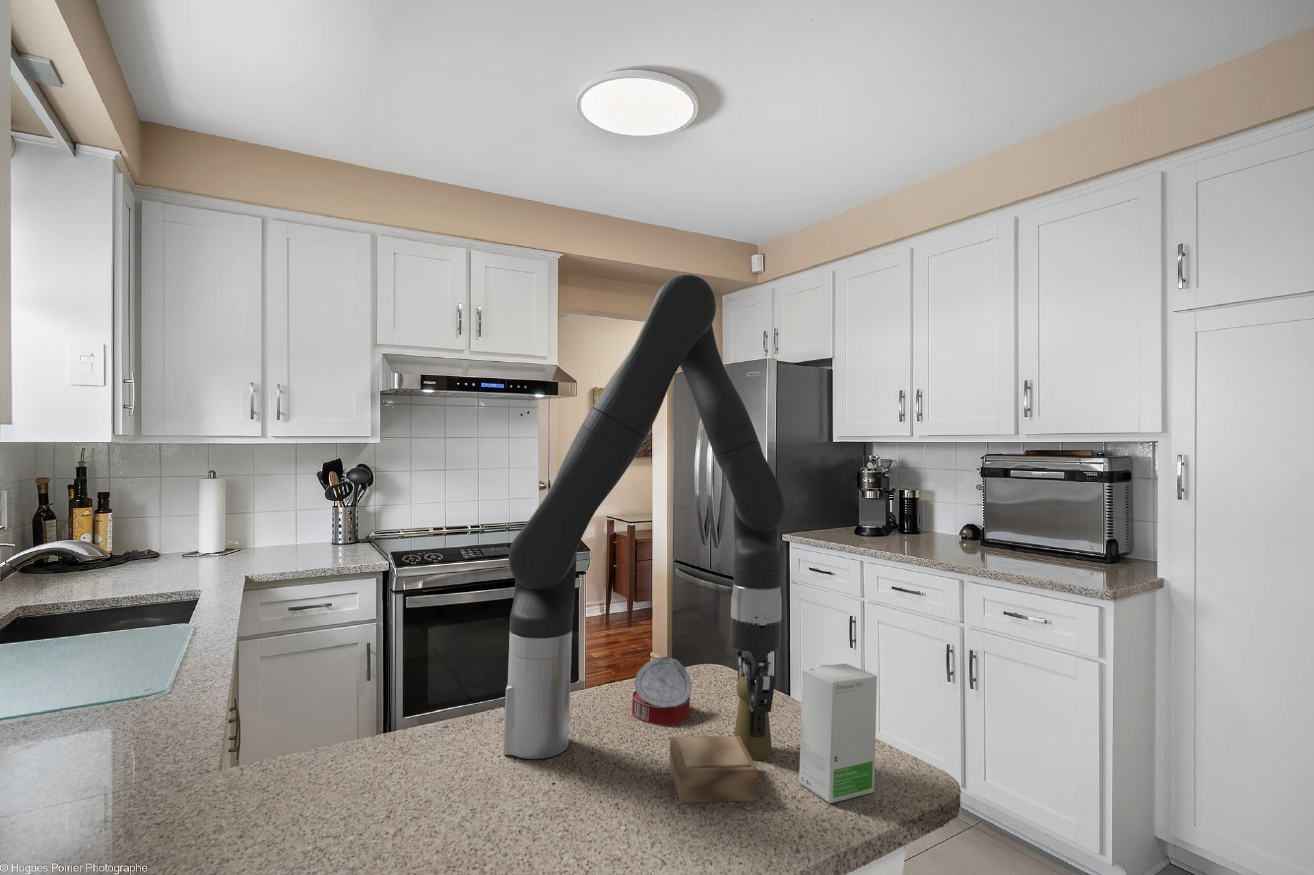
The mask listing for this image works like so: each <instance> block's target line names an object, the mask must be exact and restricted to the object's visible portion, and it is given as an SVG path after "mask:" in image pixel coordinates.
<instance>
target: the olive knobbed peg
mask: <svg viewBox="0 0 1314 875" xmlns="http://www.w3.org/2000/svg"><path fill="white" fill-rule="evenodd" d="M735 686H736V688H735V689H736V694H737V697H738V699H739V703H738V708H737V714H736V720H735V726H734V733H733V736H740V738H741V740H742V742H743V743H744V745H745V747H746V749H747V751H748V753H749V754H750V756H751V758H752V760H753V761H761V760H760V759H764V760H766V759H769V758H770V757H772V755H773V745H772V736H771V734H772V733H771V727H770V726H771V725H770V717H769V716H770V715H769V712H765V735H764V736H763V737H751V736H750V734H749V710H750V709H749V698H750V696H749V694H747V693H746V686H745V675H744V676H742V677H740V679H739V680H738V679H737V682H736V685H735ZM751 688H752V689H755V686H753V685H751ZM762 701H763V700H760V701H759V703H762ZM768 757H769V758H768Z"/></svg>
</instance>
